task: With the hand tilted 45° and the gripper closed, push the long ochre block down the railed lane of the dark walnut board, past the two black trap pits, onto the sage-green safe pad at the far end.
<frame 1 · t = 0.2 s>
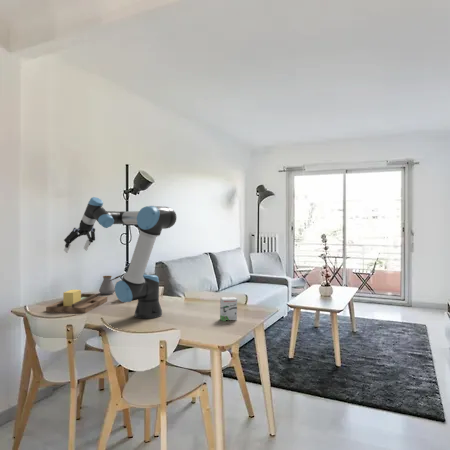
hand: (75, 250, 232), 36 cm above the table, tool tilted 35°, fingers open, 13 cm apart
coffee pot: (111, 294, 278), on the table
trap board: (78, 306, 239), on the table
ochre block: (72, 304, 231), point 3 cm above the table, touching trap board
ink box: (228, 320, 208), on the table
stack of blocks: (131, 298, 264), on the table
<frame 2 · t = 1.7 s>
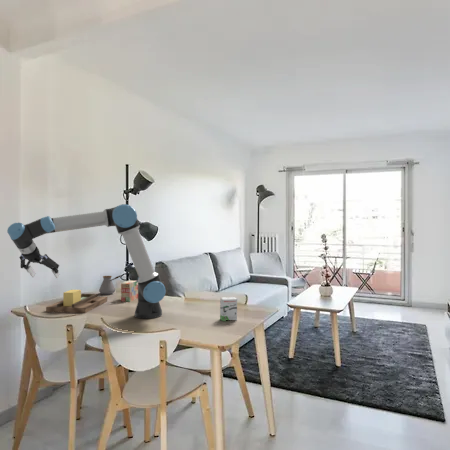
hand: (45, 275, 203), 24 cm above the table, tool tilted 45°, fingers open, 13 cm apart
nothing on the table moved.
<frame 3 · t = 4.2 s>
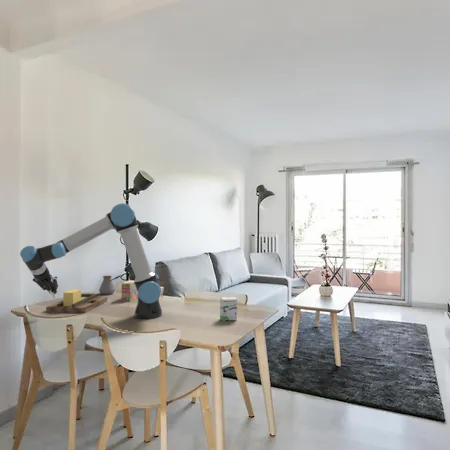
hand: (55, 296, 214), 11 cm above the table, tool tilted 45°, fingers closed
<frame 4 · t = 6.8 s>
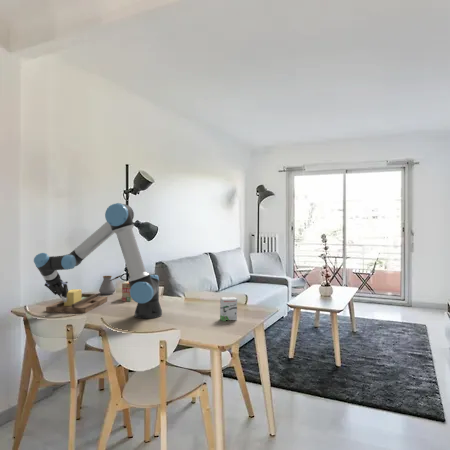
hand: (65, 300, 226), 7 cm above the table, tool tilted 45°, fingers closed
ochre block: (73, 304, 232), point 3 cm above the table, touching gripper
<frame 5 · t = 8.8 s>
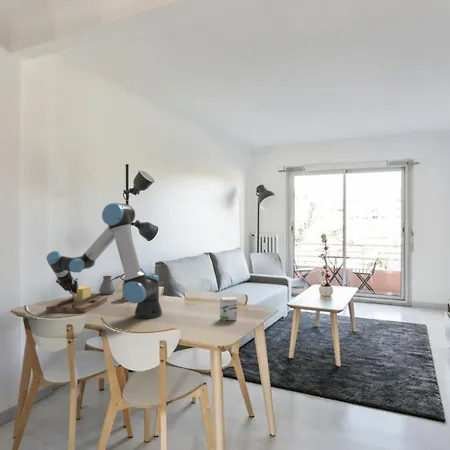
hand: (75, 296, 238), 7 cm above the table, tool tilted 45°, fingers closed
ochre block: (82, 300, 244), point 3 cm above the table, touching gripper
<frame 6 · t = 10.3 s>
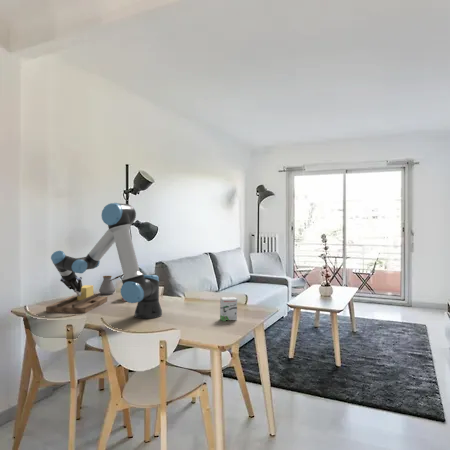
hand: (79, 294, 241), 7 cm above the table, tool tilted 45°, fingers closed
ochre block: (85, 298, 247), point 3 cm above the table, touching gripper, trap board
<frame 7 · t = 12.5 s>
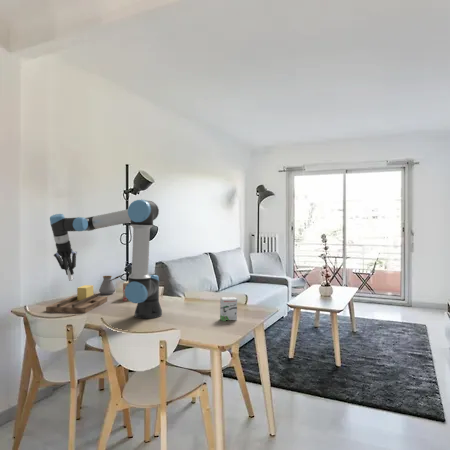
hand: (71, 279, 221), 20 cm above the table, tool tilted 20°, fingers closed
ochre block: (85, 298, 247), point 3 cm above the table, touching trap board
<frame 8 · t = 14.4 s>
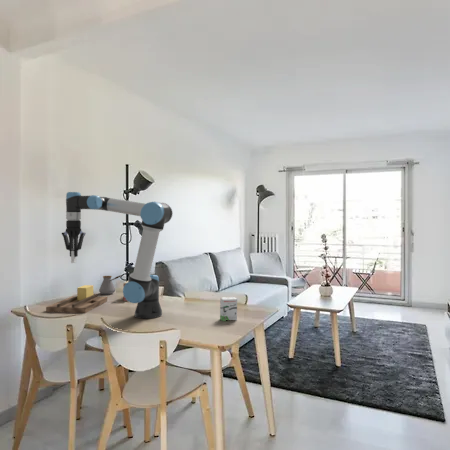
hand: (73, 262, 212), 30 cm above the table, tool pointing down, fingers closed
at the end: ochre block inside the target area (1.0 cm from its centre), point 3.0 cm above the table; ochre block tilted 0° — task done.
